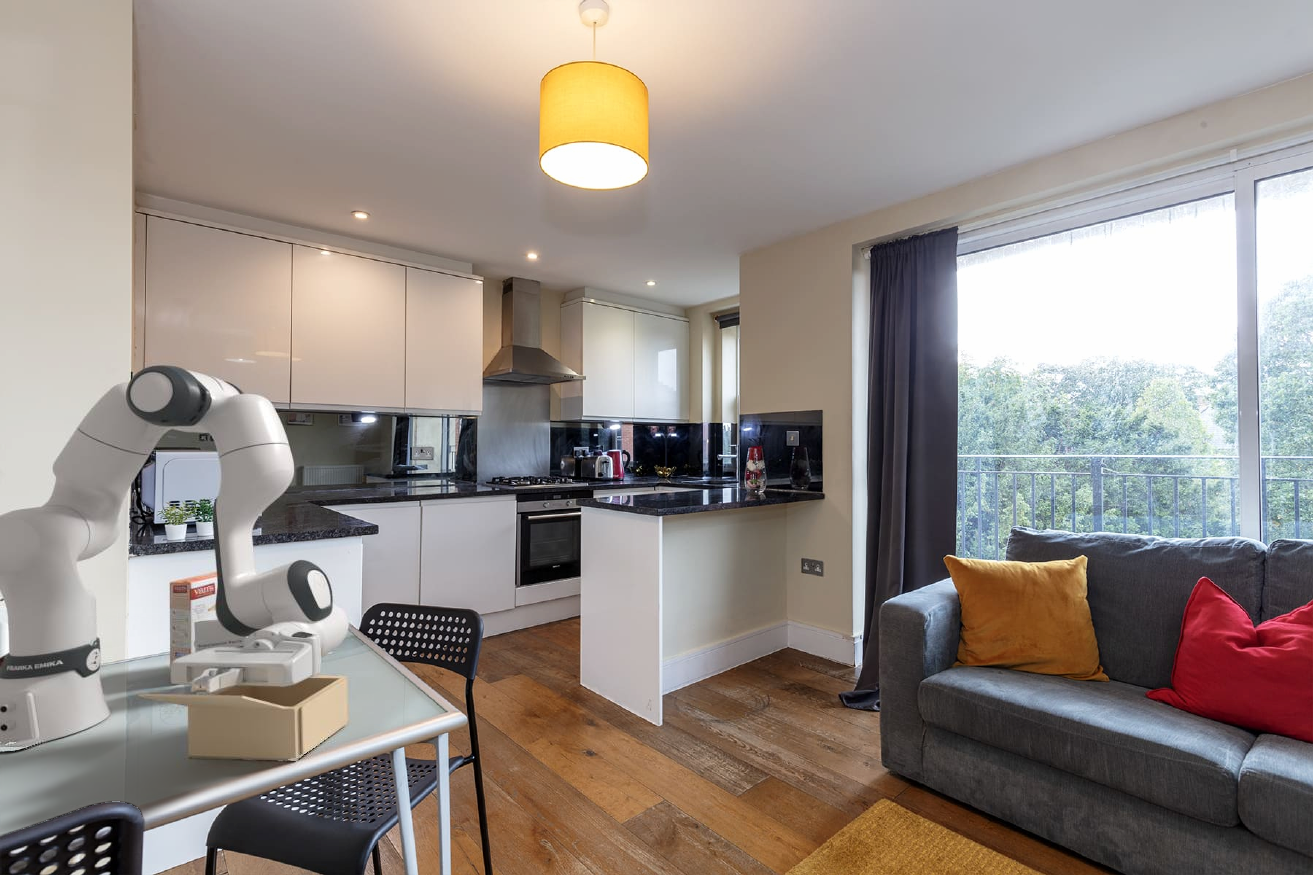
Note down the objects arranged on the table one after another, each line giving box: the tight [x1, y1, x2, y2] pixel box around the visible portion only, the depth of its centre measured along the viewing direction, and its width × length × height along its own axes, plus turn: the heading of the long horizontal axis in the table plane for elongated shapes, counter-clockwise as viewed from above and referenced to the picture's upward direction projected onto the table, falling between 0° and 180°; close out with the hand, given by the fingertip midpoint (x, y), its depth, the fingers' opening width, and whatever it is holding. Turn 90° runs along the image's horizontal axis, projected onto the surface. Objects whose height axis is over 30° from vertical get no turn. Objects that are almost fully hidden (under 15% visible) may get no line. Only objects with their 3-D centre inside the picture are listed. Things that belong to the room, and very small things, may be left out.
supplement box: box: [194, 610, 248, 695], centre depth 125 cm, size 9×9×15 cm
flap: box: [138, 693, 285, 709], centre depth 90 cm, size 16×1×10 cm
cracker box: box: [169, 571, 217, 681], centre depth 135 cm, size 14×6×21 cm, turn 168°
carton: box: [187, 675, 349, 761], centre depth 101 cm, size 19×14×8 cm
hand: (200, 686), depth 87 cm, fingers closed
